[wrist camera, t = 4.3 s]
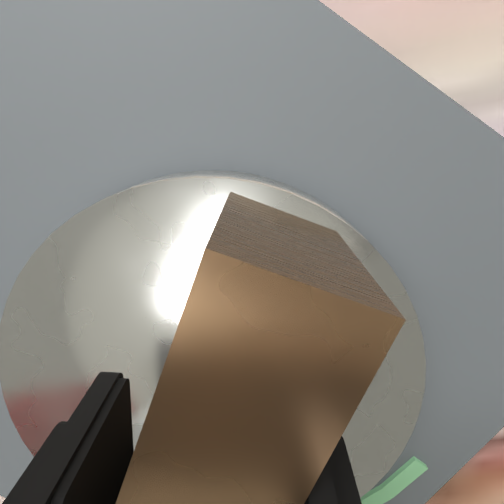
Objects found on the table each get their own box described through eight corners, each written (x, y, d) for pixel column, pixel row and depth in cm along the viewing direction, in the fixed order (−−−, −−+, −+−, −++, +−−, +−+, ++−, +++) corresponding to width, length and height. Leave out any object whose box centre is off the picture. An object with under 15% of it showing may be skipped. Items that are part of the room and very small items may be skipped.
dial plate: (86, -149, 11) (56, -197, 9) (630, 248, 14) (678, 263, 13) (-125, 399, 17) (-167, 428, 15) (296, 590, 20) (299, 631, 18)
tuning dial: (79, 105, 11) (-183, 67, 5) (472, 254, 12) (720, 398, 6) (-12, 519, 16) (-199, 789, 10) (274, 596, 17) (285, 884, 11)
